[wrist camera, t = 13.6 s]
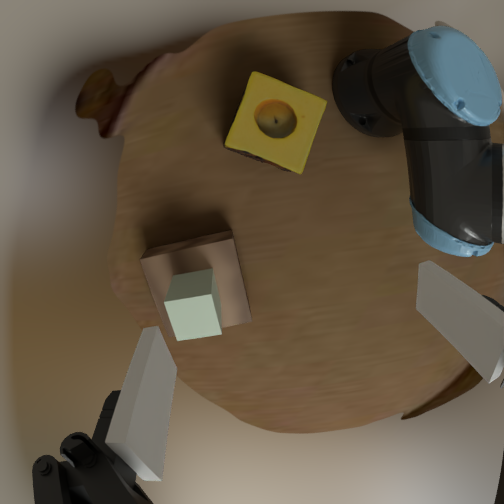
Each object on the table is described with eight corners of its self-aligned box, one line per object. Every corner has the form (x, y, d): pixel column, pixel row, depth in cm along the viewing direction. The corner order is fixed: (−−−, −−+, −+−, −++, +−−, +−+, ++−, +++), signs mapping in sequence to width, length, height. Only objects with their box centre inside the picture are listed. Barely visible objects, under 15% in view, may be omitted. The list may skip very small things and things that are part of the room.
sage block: (212, 268, 42) (211, 294, 35) (221, 304, 44) (221, 334, 37) (173, 275, 42) (163, 302, 34) (183, 310, 44) (177, 340, 36)
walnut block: (231, 229, 46) (233, 238, 41) (249, 305, 50) (252, 321, 46) (147, 248, 45) (139, 259, 41) (172, 320, 50) (168, 337, 45)
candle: (285, 171, 43) (303, 177, 34) (222, 148, 41) (221, 148, 32) (308, 111, 40) (331, 102, 31) (245, 86, 38) (252, 69, 29)
